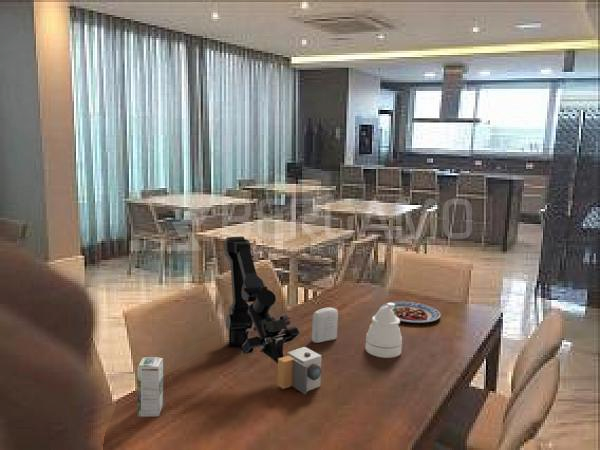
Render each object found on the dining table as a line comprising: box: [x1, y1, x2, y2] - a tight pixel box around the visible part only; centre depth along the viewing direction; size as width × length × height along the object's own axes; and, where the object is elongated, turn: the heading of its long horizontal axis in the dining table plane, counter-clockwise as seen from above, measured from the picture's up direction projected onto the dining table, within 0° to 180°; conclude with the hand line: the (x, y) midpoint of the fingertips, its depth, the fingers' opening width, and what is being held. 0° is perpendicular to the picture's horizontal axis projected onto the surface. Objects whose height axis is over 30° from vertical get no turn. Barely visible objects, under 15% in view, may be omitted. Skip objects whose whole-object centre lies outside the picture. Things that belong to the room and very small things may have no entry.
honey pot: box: [365, 302, 403, 359], centre depth 180 cm, size 13×13×18 cm
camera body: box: [286, 346, 322, 392], centre depth 153 cm, size 10×7×11 cm
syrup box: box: [136, 356, 164, 418], centre depth 135 cm, size 6×6×14 cm
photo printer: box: [311, 307, 339, 344], centre depth 188 cm, size 10×4×12 cm, turn 123°
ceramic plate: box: [379, 301, 441, 324], centre depth 219 cm, size 26×26×3 cm
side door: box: [276, 355, 308, 395], centre depth 148 cm, size 9×4×8 cm, turn 39°
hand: (282, 365), depth 152 cm, fingers closed
